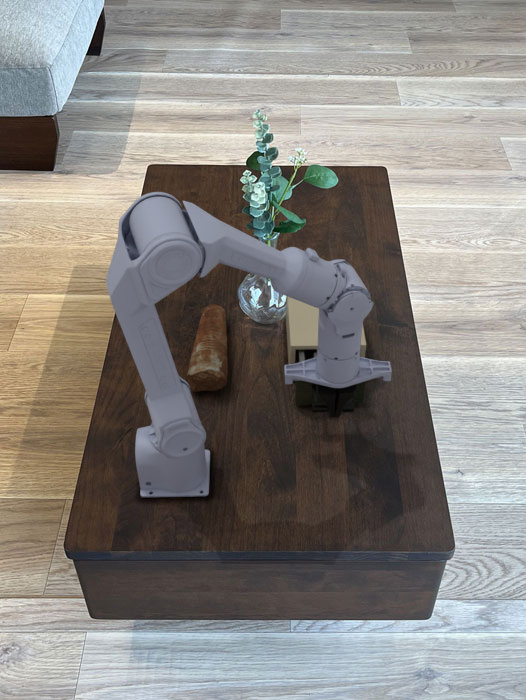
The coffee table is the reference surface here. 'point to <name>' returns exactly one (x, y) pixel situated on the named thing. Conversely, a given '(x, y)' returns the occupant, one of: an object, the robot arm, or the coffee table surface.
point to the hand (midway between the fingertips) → (335, 412)
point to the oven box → (305, 328)
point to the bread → (209, 352)
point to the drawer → (309, 391)
